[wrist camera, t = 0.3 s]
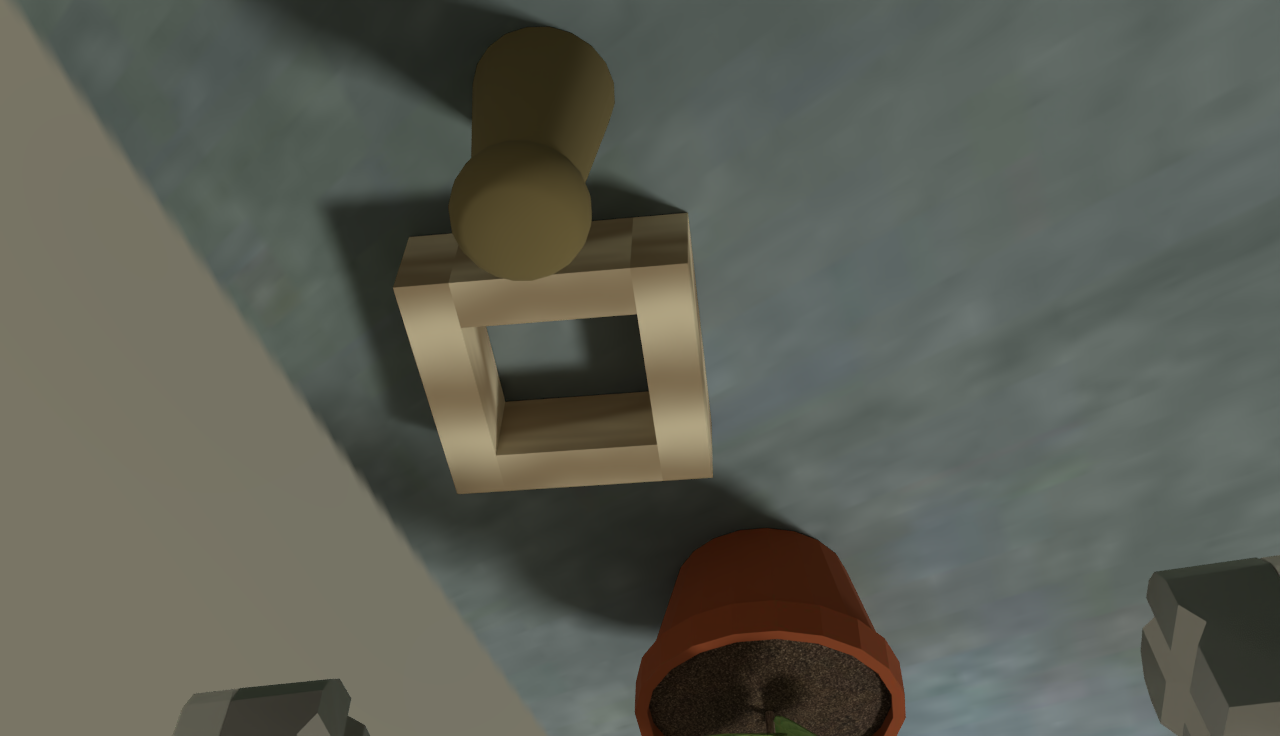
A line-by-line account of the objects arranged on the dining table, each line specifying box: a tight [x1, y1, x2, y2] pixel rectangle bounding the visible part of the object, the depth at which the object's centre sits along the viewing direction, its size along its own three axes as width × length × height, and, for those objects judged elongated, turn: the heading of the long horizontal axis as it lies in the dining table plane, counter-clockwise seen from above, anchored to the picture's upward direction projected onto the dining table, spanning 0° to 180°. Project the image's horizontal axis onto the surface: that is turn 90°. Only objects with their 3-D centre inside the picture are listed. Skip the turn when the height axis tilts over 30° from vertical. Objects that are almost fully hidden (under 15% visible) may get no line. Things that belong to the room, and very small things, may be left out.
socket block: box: [393, 213, 713, 494], centre depth 57 cm, size 13×13×4 cm
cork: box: [448, 27, 615, 281], centre depth 46 cm, size 6×6×11 cm
